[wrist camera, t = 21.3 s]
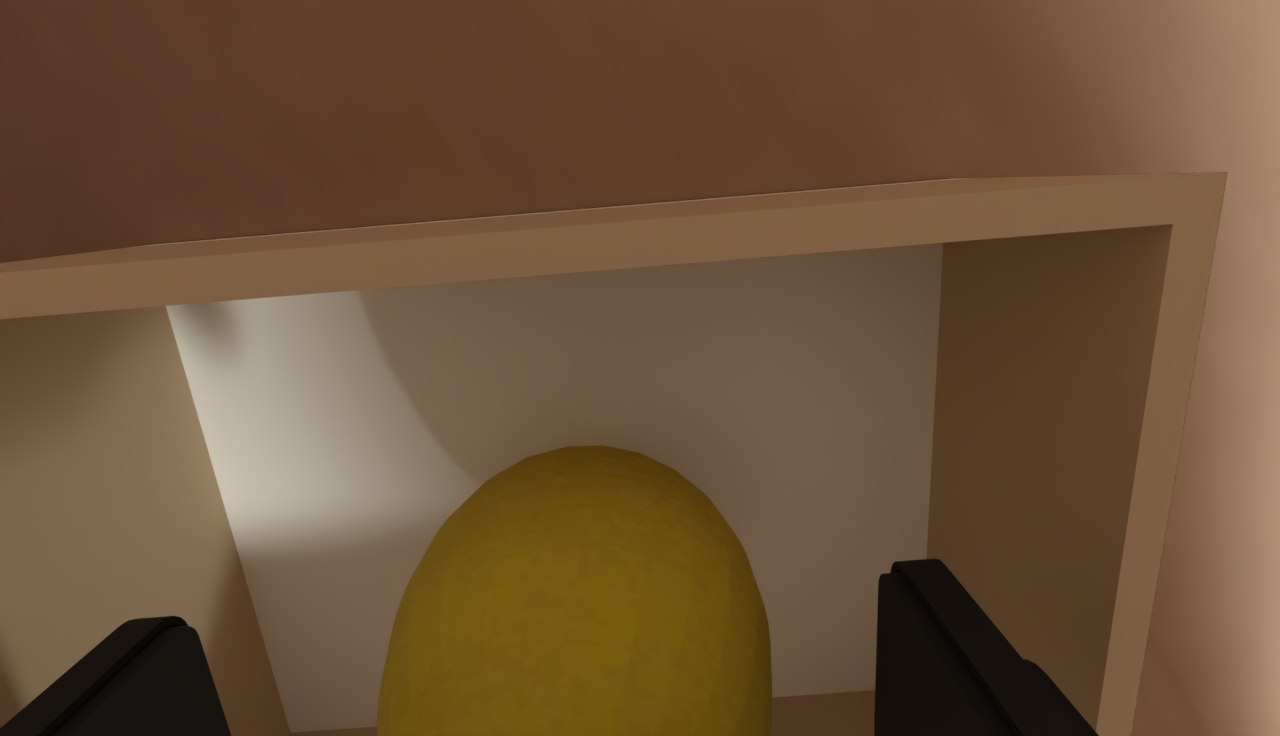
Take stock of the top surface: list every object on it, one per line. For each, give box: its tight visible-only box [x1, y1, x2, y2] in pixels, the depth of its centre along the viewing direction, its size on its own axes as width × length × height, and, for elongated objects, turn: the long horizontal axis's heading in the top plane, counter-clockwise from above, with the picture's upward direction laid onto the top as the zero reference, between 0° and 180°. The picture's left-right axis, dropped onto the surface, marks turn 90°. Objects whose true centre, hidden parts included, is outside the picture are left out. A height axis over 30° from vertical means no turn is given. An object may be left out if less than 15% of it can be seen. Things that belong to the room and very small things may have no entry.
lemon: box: [377, 445, 773, 736], centre depth 10 cm, size 6×6×8 cm
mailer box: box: [0, 172, 1228, 736], centre depth 11 cm, size 16×12×6 cm
